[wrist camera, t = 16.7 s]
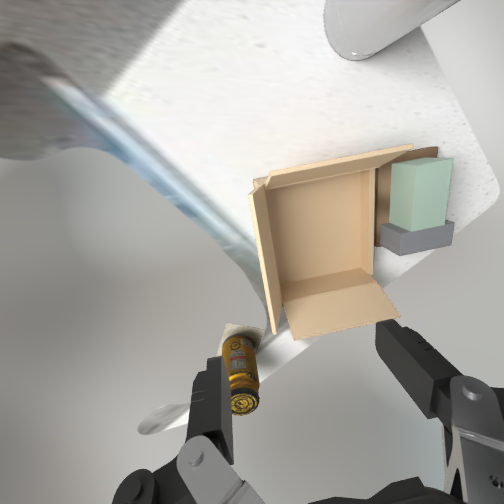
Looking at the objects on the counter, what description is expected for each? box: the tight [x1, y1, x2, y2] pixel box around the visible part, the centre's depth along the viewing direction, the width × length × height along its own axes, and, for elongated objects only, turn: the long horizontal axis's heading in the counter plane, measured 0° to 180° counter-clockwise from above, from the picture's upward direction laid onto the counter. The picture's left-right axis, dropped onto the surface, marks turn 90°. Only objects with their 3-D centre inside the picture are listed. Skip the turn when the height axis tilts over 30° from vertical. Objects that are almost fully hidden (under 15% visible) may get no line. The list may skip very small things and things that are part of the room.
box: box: [380, 157, 454, 256], centre depth 37 cm, size 12×8×5 cm, turn 10°
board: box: [374, 147, 438, 247], centre depth 40 cm, size 14×9×2 cm, turn 10°
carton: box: [248, 144, 413, 341], centre depth 35 cm, size 22×18×12 cm
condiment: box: [216, 323, 264, 416], centre depth 42 cm, size 7×8×12 cm
